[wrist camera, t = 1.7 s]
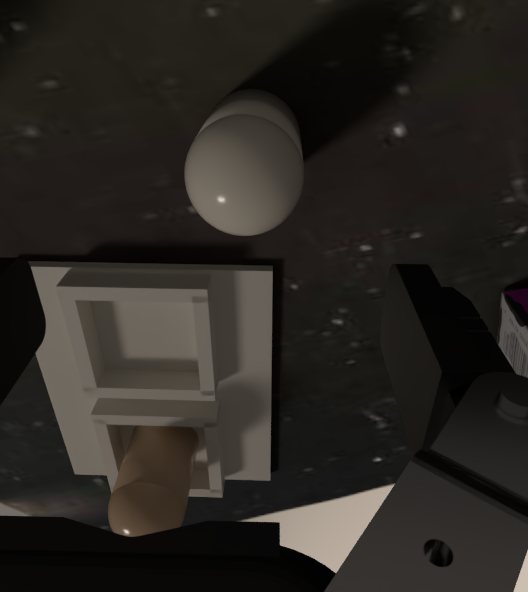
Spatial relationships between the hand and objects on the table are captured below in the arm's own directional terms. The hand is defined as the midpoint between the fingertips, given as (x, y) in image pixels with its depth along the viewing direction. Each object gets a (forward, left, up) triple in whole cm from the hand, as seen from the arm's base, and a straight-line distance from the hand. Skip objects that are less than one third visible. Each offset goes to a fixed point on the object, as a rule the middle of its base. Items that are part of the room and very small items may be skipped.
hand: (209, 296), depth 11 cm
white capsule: (0, 0, -13) cm, 13 cm away
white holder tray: (+6, +15, -13) cm, 21 cm away
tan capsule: (+6, +19, -13) cm, 24 cm away
